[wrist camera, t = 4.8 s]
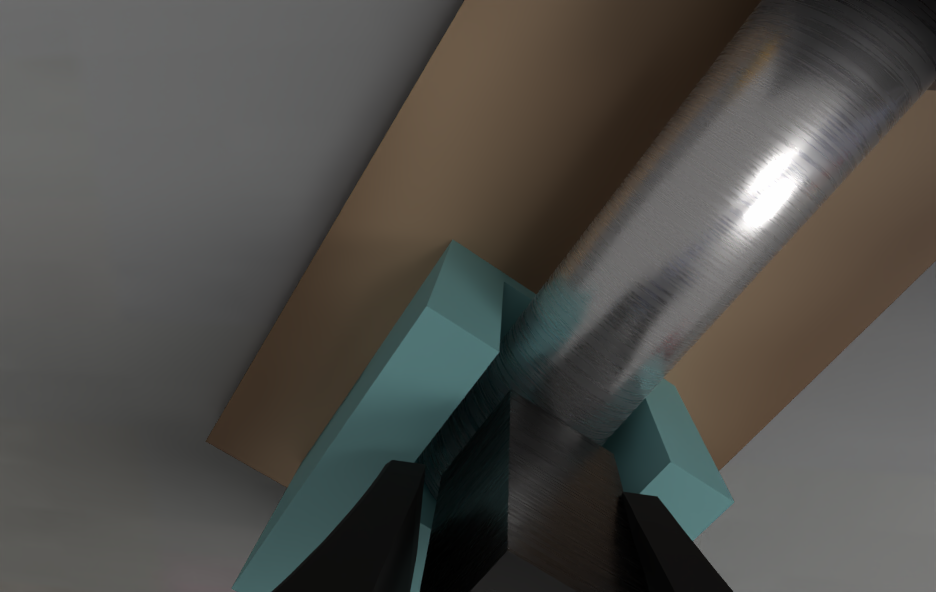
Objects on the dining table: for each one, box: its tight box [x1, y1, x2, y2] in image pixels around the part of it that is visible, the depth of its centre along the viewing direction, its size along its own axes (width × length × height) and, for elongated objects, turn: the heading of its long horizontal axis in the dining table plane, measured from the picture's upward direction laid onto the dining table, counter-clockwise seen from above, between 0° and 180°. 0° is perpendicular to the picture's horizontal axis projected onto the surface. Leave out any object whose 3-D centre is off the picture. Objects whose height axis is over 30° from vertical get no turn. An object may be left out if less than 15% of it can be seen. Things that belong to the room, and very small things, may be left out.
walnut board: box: [206, 0, 936, 488], centre depth 13 cm, size 12×31×1 cm, turn 147°
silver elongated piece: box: [419, 0, 936, 592], centre depth 9 cm, size 3×14×7 cm, turn 147°
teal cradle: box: [231, 240, 734, 592], centre depth 14 cm, size 7×8×4 cm
